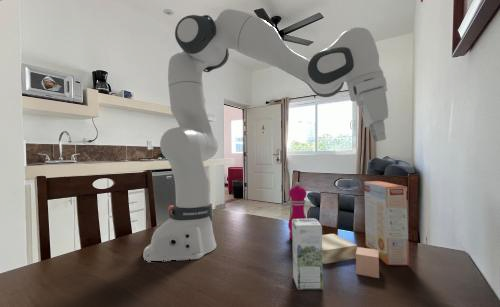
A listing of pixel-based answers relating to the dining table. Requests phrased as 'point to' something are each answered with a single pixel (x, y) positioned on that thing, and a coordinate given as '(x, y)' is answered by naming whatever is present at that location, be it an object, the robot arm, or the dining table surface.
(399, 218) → the cracker box
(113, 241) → the dining table surface
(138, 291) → the dining table surface
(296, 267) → the syrup box
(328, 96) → the robot arm
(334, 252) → the birch block
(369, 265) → the terracotta cube
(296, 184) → the pepper mill
